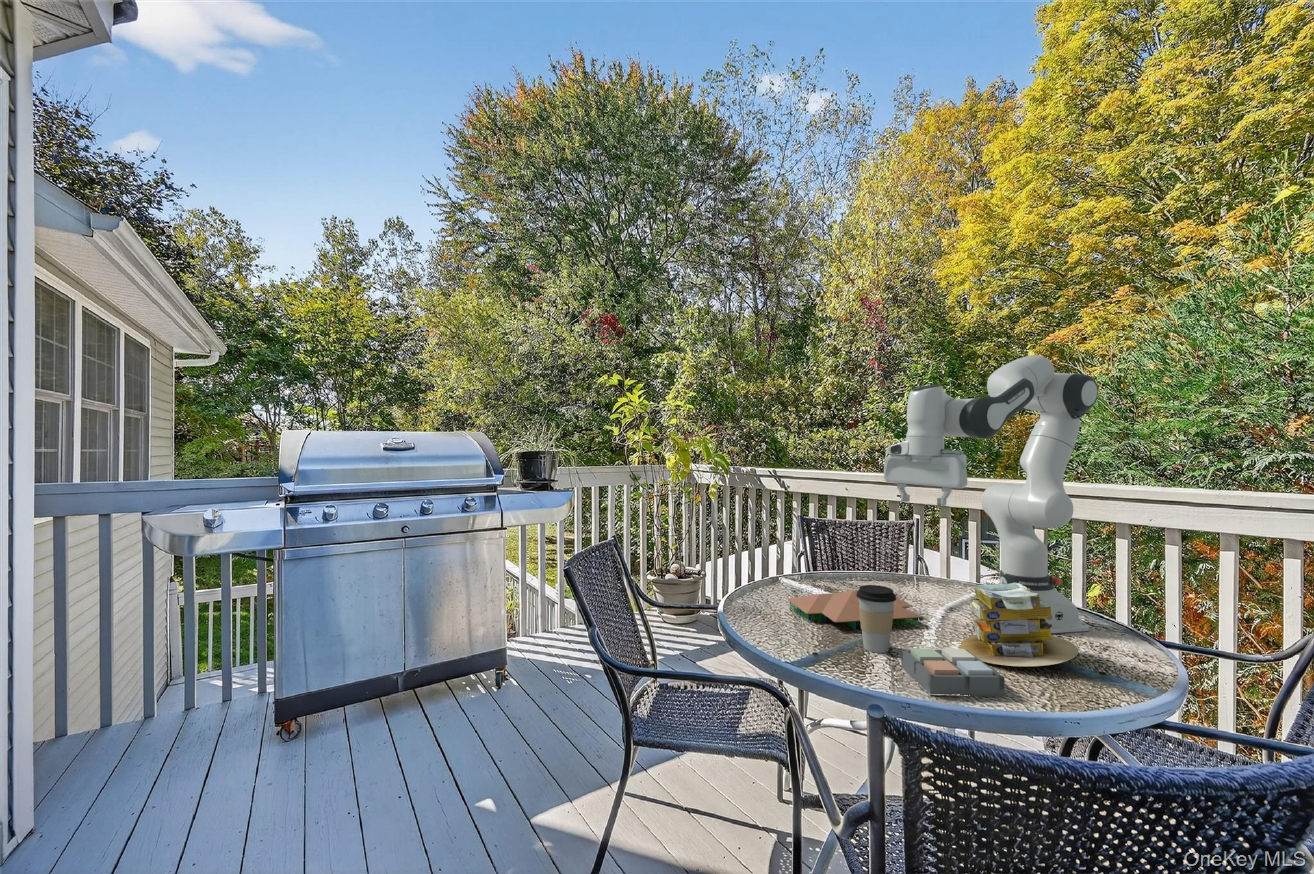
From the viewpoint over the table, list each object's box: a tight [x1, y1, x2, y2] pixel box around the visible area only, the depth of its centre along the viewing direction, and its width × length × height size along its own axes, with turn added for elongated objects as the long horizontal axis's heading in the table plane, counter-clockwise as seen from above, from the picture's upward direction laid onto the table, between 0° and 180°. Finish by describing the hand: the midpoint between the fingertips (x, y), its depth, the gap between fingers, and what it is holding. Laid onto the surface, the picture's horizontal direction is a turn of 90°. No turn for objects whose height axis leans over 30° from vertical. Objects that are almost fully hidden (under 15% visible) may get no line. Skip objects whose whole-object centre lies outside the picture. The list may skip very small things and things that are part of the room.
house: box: [786, 589, 922, 630], centre depth 171 cm, size 23×33×8 cm
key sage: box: [910, 647, 943, 661], centre depth 131 cm, size 5×5×2 cm
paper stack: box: [958, 583, 1079, 667], centre depth 142 cm, size 25×25×17 cm
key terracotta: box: [924, 660, 959, 675], centre depth 124 cm, size 5×5×2 cm
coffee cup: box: [856, 584, 897, 654], centre depth 146 cm, size 9×9×15 cm
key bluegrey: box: [957, 661, 993, 675], centre depth 124 cm, size 5×5×2 cm
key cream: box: [941, 648, 975, 662], centre depth 131 cm, size 5×5×2 cm
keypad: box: [900, 648, 1005, 697], centre depth 127 cm, size 15×15×4 cm
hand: (922, 503), depth 147 cm, fingers open, 8 cm apart
